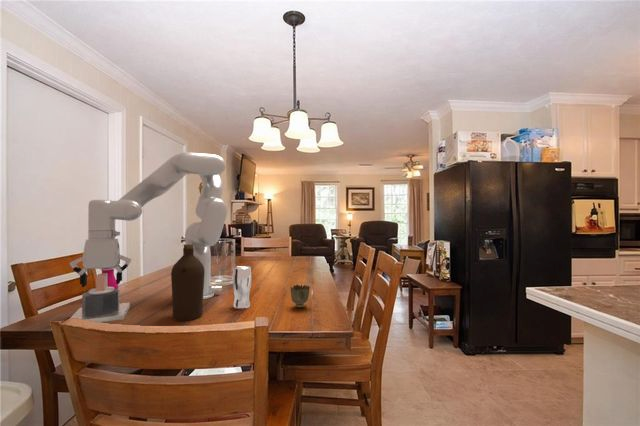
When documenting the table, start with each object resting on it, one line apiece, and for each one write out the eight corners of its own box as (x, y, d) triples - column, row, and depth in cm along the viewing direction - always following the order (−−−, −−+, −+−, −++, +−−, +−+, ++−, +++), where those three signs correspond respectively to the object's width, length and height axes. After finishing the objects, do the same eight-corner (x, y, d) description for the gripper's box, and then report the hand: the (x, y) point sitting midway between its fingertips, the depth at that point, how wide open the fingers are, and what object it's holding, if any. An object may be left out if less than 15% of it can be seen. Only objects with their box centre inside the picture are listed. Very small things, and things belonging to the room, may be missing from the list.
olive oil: (208, 317, 102) (209, 244, 102) (175, 324, 96) (175, 246, 96) (198, 309, 111) (199, 242, 110) (167, 315, 104) (168, 243, 104)
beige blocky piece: (115, 295, 108) (116, 272, 108) (112, 300, 102) (112, 276, 101) (91, 297, 105) (91, 273, 105) (86, 303, 98) (86, 277, 98)
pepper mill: (107, 301, 118) (107, 251, 118) (92, 300, 120) (92, 250, 120) (122, 296, 126) (122, 249, 126) (108, 295, 127) (108, 248, 127)
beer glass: (254, 305, 116) (255, 266, 116) (243, 310, 110) (243, 269, 110) (240, 302, 119) (240, 265, 119) (228, 307, 113) (228, 268, 112)
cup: (298, 303, 119) (298, 283, 119) (313, 306, 115) (313, 286, 115) (286, 307, 113) (286, 286, 113) (301, 311, 109) (301, 290, 109)
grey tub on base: (129, 306, 113) (129, 285, 113) (123, 319, 100) (123, 295, 100) (80, 311, 106) (80, 289, 106) (66, 326, 93) (66, 300, 93)
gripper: (132, 234, 110) (132, 280, 110) (73, 235, 102) (73, 284, 103) (129, 235, 103) (129, 284, 103) (66, 237, 96) (66, 290, 96)
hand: (101, 284), depth 103 cm, fingers open, 9 cm apart
